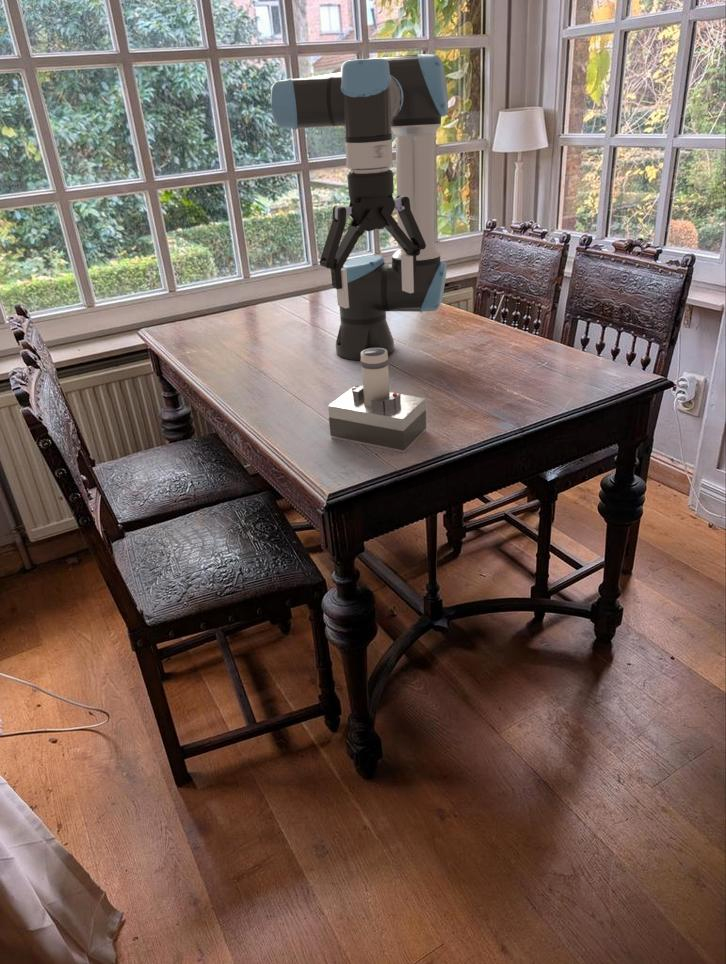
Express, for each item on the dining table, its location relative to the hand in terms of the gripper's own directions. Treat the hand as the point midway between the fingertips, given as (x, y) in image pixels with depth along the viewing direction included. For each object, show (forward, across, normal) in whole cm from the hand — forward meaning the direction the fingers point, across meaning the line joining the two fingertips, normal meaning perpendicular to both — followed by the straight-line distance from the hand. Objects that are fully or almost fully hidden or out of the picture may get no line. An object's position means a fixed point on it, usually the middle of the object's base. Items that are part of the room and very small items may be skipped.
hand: (376, 299), depth 122 cm
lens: (+20, -1, 0) cm, 20 cm away
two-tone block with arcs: (+27, -1, 0) cm, 27 cm away
